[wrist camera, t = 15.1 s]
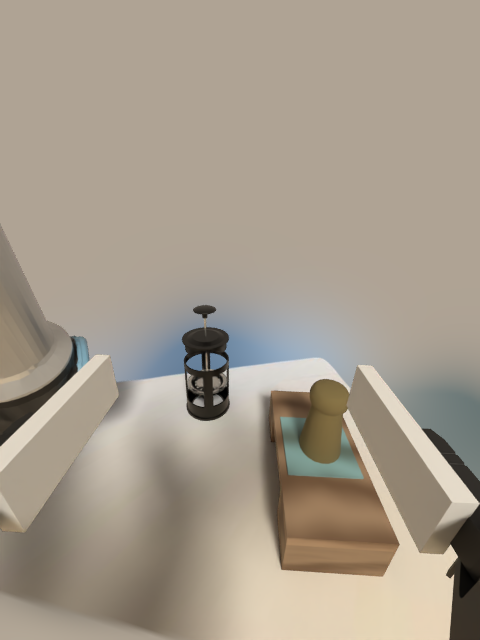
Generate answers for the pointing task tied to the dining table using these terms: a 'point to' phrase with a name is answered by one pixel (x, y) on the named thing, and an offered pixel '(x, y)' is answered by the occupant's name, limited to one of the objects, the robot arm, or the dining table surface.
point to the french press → (206, 369)
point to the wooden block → (326, 501)
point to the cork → (324, 421)
